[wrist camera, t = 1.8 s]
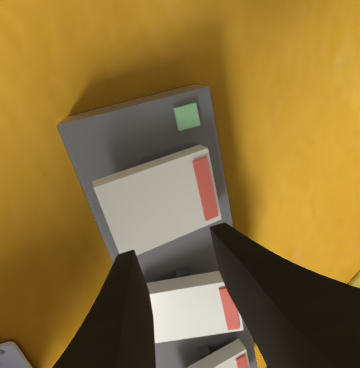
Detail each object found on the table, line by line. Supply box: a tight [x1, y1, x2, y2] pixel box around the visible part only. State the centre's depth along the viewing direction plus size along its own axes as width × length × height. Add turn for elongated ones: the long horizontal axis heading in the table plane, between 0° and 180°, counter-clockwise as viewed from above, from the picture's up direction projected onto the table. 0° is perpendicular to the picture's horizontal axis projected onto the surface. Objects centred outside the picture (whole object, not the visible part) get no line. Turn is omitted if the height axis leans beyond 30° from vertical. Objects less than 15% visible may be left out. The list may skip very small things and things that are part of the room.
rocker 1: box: [92, 144, 221, 256], centre depth 15 cm, size 6×4×1 cm
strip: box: [57, 84, 257, 368], centre depth 21 cm, size 8×26×4 cm, turn 13°
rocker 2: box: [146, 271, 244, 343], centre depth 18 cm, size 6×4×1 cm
